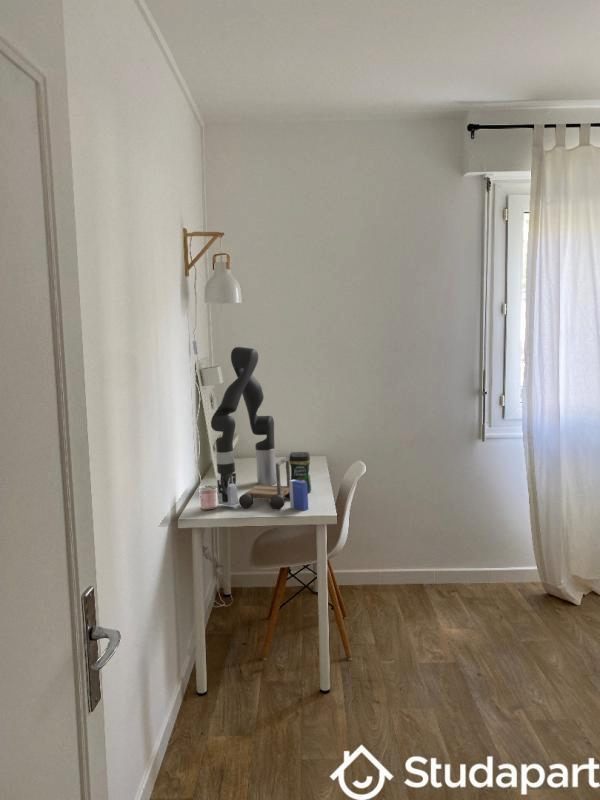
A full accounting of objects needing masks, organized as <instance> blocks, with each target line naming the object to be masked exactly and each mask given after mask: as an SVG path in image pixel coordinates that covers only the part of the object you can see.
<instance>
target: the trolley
mask: <svg viewBox="0 0 600 800" xmlns="http://www.w3.org/2000/svg"><path fill="white" fill-rule="evenodd" d="M289 458H290V456H286V457H284V458H282V459H281V460H279V461H278V462H275V463H276V481H277V483H276V485H263V484H259V485H258V484H257V485H255V486H254V487H252V488H251V489H249V490H247V491H246V492H244V494H241V496H240V497H238V504H239V505H240V506H241V508H243V509H249V508H251V507H252V506H253V504H254V502H255V500H254V499H262V500H263V499H264V500H265V499H266V500H269V506H270V507H271V508H272V509H273V510H275V511H278V510H281V509H283V508H284V506H285V503H286V501H285V499H287V500H289V499H290V491H289V490H290V488H289V481H290V480H291V465H290V463H289ZM283 464H285V470H286V471H285V472H286V473H285V474H286V485H281V484H282V483H281V471H280V470H281V468H280V466H281V465H283ZM284 498H285V499H284Z"/></svg>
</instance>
